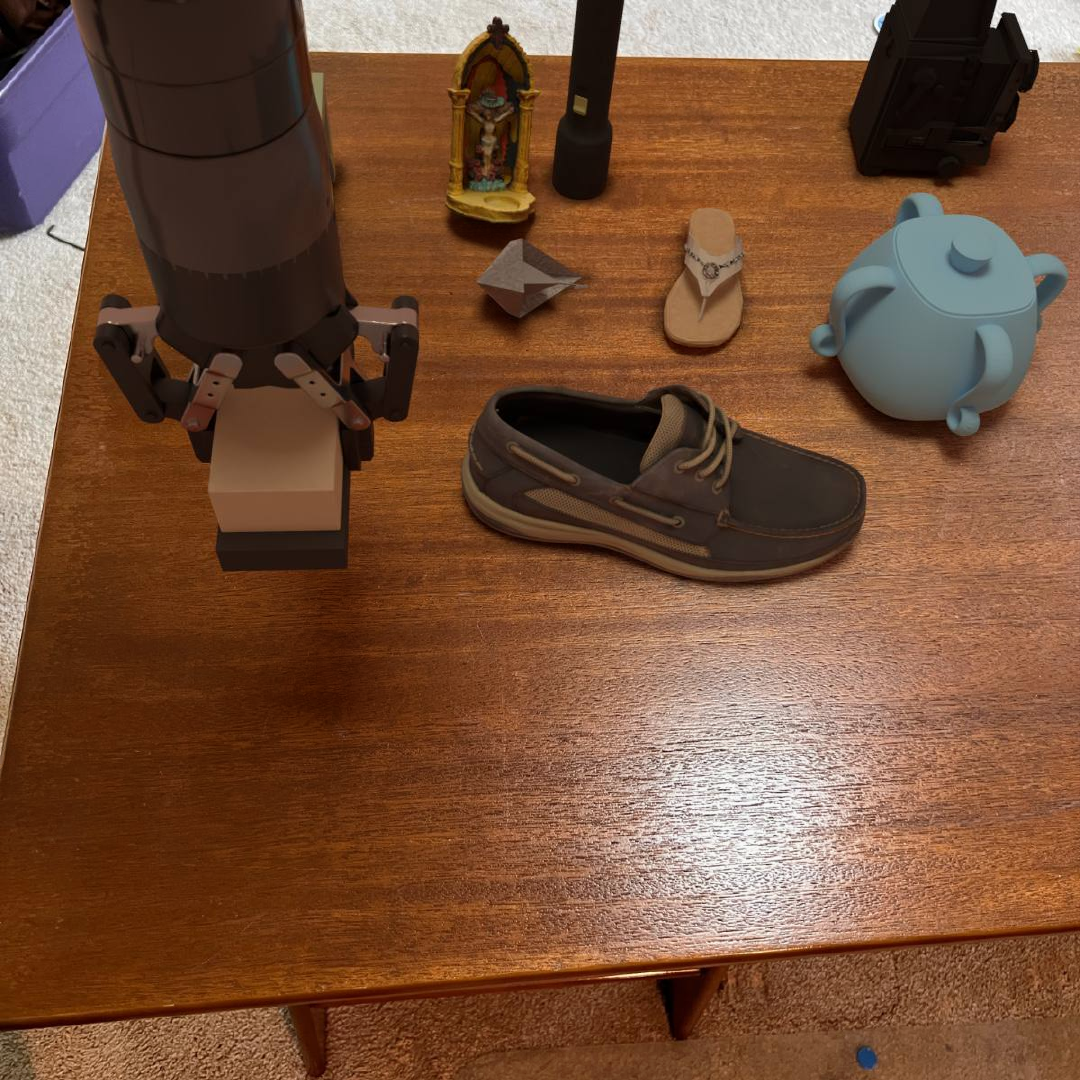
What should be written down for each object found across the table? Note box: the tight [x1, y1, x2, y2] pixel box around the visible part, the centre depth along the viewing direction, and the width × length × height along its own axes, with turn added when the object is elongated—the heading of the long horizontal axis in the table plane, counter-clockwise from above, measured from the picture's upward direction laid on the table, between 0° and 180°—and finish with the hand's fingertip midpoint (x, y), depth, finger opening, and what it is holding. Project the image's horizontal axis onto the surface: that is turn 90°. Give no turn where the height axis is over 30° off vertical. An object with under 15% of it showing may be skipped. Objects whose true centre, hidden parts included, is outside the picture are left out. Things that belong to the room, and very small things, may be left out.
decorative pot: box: [808, 192, 1069, 437], centre depth 84 cm, size 16×16×14 cm
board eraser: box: [207, 341, 356, 573], centre depth 54 cm, size 14×6×6 cm, turn 4°
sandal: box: [662, 207, 746, 349], centre depth 90 cm, size 7×16×5 cm, turn 175°
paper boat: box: [475, 238, 590, 319], centre depth 88 cm, size 12×6×9 cm
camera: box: [848, 0, 1041, 179], centre depth 95 cm, size 10×14×20 cm
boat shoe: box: [460, 383, 868, 583], centre depth 75 cm, size 11×29×11 cm, turn 86°
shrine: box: [444, 15, 541, 225], centre depth 90 cm, size 12×8×15 cm
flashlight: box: [551, 0, 625, 201], centre depth 89 cm, size 5×24×5 cm
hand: (289, 457), depth 55 cm, fingers closed on board eraser, 6 cm apart
